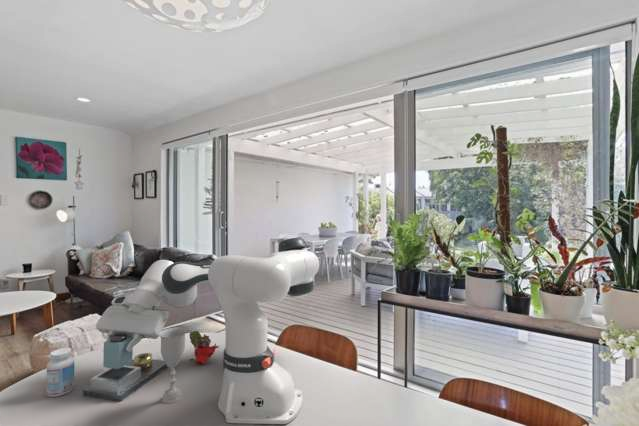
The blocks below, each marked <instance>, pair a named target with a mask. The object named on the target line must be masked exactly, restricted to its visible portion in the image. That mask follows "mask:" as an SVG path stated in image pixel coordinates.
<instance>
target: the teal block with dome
mask: <svg viewBox="0 0 639 426" xmlns="http://www.w3.org/2000/svg"><path fill="white" fill-rule="evenodd" d="M133 339H134V338H133V336H127V334H123V333H122V334H115V335H113V336H111V337H110V340H108V341H107V340H106V341H104V342H103V364H102V367H103V368H106V369H108V368H114V369H120V368H121V367H123V366H125V365H126V364H128V363H130V362H131V361H132V360H133V351H134V350H133V348H134V347H133V348H132V350H131V352H127V351H124V350H123V348H124V346H125V344H126V343H129V342H130V341H131V340H133Z"/></svg>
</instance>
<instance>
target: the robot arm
mask: <svg viewBox="0 0 639 426" xmlns="http://www.w3.org/2000/svg"><path fill="white" fill-rule="evenodd" d="M307 247H308V245H307V243H306V241H305V239H303V238H302V237H301V236H297V235H296V236H295V235H293V236H288V237H285V238H284V239H282V240H281V241H280V242H279V243H278V252H273V253H271V254H269V255H267V257H256V256H255V257H254V256H248V255H247V256H246V255H237V254H228V255H227V254H226V255H221V256H219V257H217V258H215V259H214V260H213V261H209V262H208V261H207V262H206V261H205V262H190V261H183V260H182V261H176V262H174V261H172V260H167V259H160V260H159V259H158V260H156V261H154V262H153V263H152V264H151V265H150V266H149V268H147V270H146V271H145V272H144V274H143V276H142V277H141V280H139V284H138V287H137V286H136V288H135V289H134V290H133V292H132V293H129V294H126V295H123V296H118V297H117V296H116V297H115V298H113V299H112V301H111V305H110V306H108V307H107V308H106V309H105V311H103V313H102V315H101V316H100V318H99V319H98V321H96V325H95V328H96V330H97V331H99V333H102V334H106V341H108V340H110V337H111V336H113V335H115V334H122V333H123V334H127V337H133V340H131V341H130V342H129V343H126V344H125V346H124V348H123V350H124V351H127V352H131V350H132V348H134V347H135V346H136V345H138V344H139V343H140V342H141V341H142V339H143V338H145V339H151V340H153V339H154V340H157V339H158V338H160V336H159V333H160V332H161V331H163V330H164V328H165V326H166V322H167V320H168V317H169V316H170V310H169V309H168V308H167V307H161V306H160V304H161V303H162V302H164V303H165V304H168V305H170V306H172V307H174V308H178V309H182V308H186V307H189V306H190V305H192V304H193V303H194V302H195V300H196V298H197V297H198V296H197V295H198V285H199V284H202V283H207V282H209V284H210V285H211V287H212V288H213V289H214V292H215V293H216V295H217V296H218V299H219V302H220V306H221V309H222V313H223V317H224V326H225V333H224V334H225V347H224V349H223V360H222V367H223V378H222V385H221V386H222V387H221V391H220V394H219V399H218V400H217V407H218V410H219V412H221V413H222V414H223V415H224V418H225V421H226V422H227V423H228V424H253V425H254V424H257V425H258V424H259V425H260V424H261V425H263V424H264V425H286V424H289V423H291V422H292V421H294V420H295V419H296V417H297V416H298V414H299V413H300V411H301V408H302V405H303V401H304V400H303V399H304V398H303V393H302V391H301V390H300V389H297V388H295V381H294V379H293V376H292V375H291V373H290V372H288V371H287V370H285V369H284V368H283V367H282V366H280V365H279V363H277V362H276V361H275V355H276V348H274V349H273V351H272V350H271V349H270V347H269V346H268V335H269V334H268V333H269V332H268V328H269V327H268V326H269V322H268V321H269V320H268V318H267V316H266V314H265V313H264V312H263V310H262V309H261V308H260V306H259V304H258V302H259V303H278V302H281V301H282V300H284V298H285V297H286V296H287V295H288V296H290V297H292V298H304V297H306V296H308V295H309V294H310V293H312V292H313V291H314V287H315V286H314V280H313V277H314V276H315V275H317V273H318V272H319V270H320V269H319V268H320V261H319V258H318V256H317V255H316V253H314V252H312V251H310V250H308V248H307Z"/></svg>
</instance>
